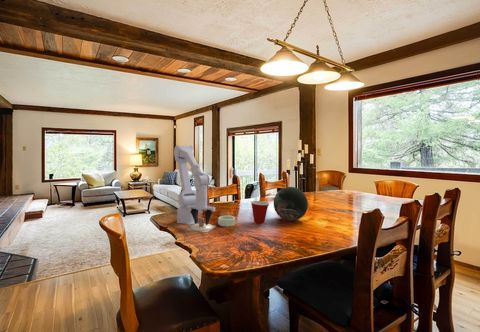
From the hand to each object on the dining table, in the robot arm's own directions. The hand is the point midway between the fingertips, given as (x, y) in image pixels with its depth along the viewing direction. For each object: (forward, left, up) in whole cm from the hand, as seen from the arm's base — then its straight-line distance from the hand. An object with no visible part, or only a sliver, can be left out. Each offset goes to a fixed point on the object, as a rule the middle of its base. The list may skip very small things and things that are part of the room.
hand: (201, 223), depth 139 cm
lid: (0, 0, -2) cm, 2 cm away
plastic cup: (+26, +22, -3) cm, 34 cm away
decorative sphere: (+42, +33, -3) cm, 53 cm away
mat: (0, 0, -2) cm, 2 cm away
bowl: (+10, +11, -2) cm, 15 cm away
